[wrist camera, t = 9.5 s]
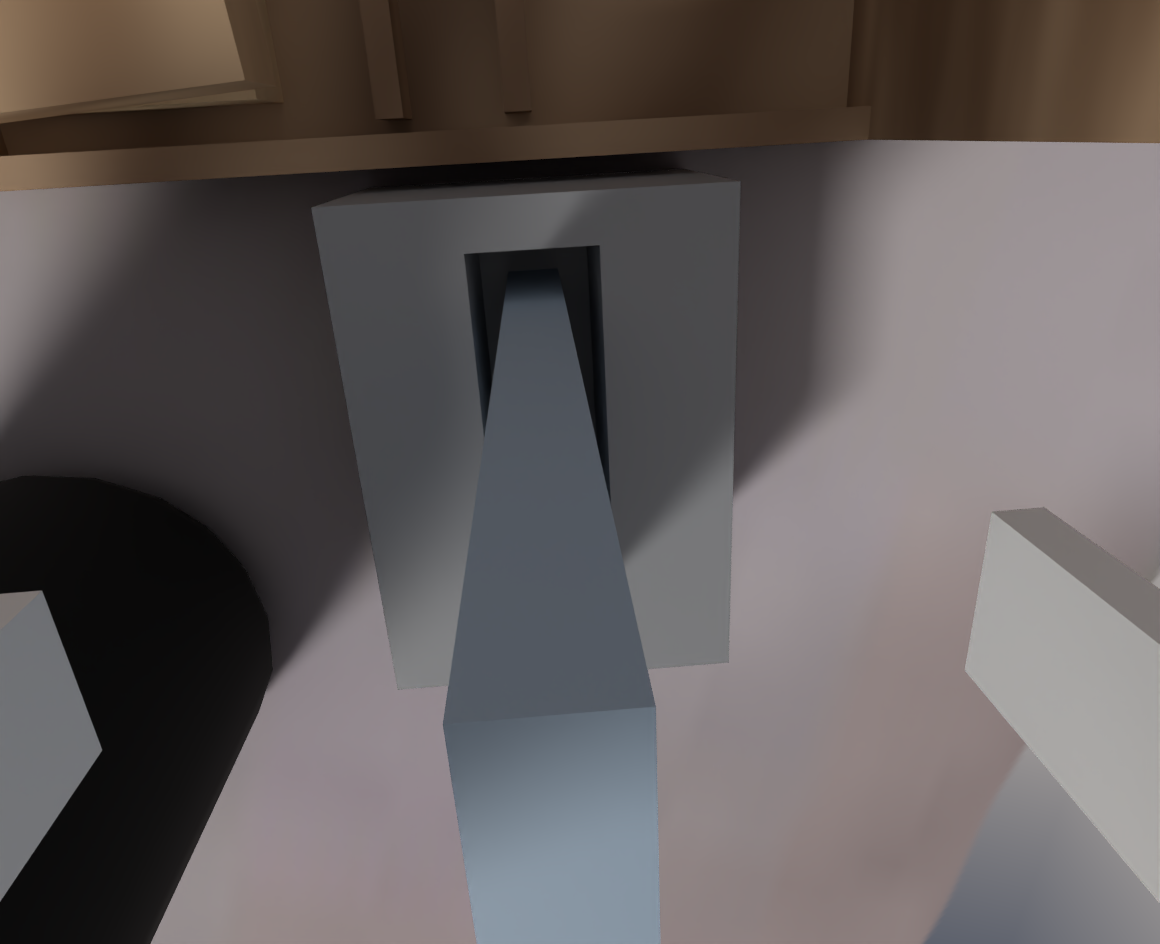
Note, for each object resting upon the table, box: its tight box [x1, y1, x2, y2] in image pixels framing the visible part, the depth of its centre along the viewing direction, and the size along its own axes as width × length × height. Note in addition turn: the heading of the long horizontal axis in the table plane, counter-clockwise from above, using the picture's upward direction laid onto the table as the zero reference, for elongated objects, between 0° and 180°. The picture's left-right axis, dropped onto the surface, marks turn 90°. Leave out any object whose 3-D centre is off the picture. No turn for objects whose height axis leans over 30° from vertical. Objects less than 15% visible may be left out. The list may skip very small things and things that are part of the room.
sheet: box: [443, 268, 660, 944], centre depth 13 cm, size 1×7×16 cm, turn 3°
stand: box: [311, 169, 741, 690], centre depth 20 cm, size 8×11×6 cm
